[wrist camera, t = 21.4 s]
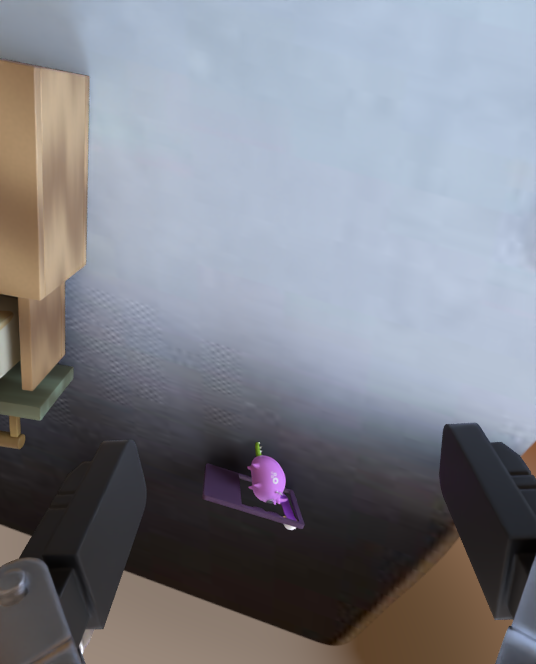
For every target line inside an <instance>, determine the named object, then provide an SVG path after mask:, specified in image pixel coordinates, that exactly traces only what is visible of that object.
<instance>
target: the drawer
mask: <svg viewBox="0 0 536 664" xmlns="http://www.w3.org/2000/svg"><path fill="white" fill-rule="evenodd" d="M18 314H19V336H20V357H21V360H20V361H19V362H18V363H17V364H16V365H15V366H13V367H12V368H11V369H10V370H9V371H8V372H7V373H6V374H5V375H4V376H2V377H1V378H0V414H3V415H9V423H10V432H6V431H0V446H3V447H9V448H15V449H21V448H22V446H23V445H24V442H25V435H24V434H20V433H21V429H20V417H21V418H28V419H34V420H41V419H42V418H43V417H44V416H45V414H46V413H47V412H48V410H49V409H50V408H51V407H52V405H53V404H54V403H55V401H56V400H57V399H58V398H59V396H60V395H61V394H62V392H63V391H64V390H65V389H66V387H67V386H68V385H69V383H70V382H71V381H72V379H73V367H71V366H65V365H59V364H57V363H58V362H59V361H60V360H61V358H62V357H63V356H64V355H65V282H64V283H62V284H61V285H60V286H59V287H57V288H56V289H55V290H53V291H52V292H51V293H50V294H48V295H47V296H46V297H44V298H43V299H42V300H40V301H39V300H33V299H27V298H21V297H18Z"/></svg>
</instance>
